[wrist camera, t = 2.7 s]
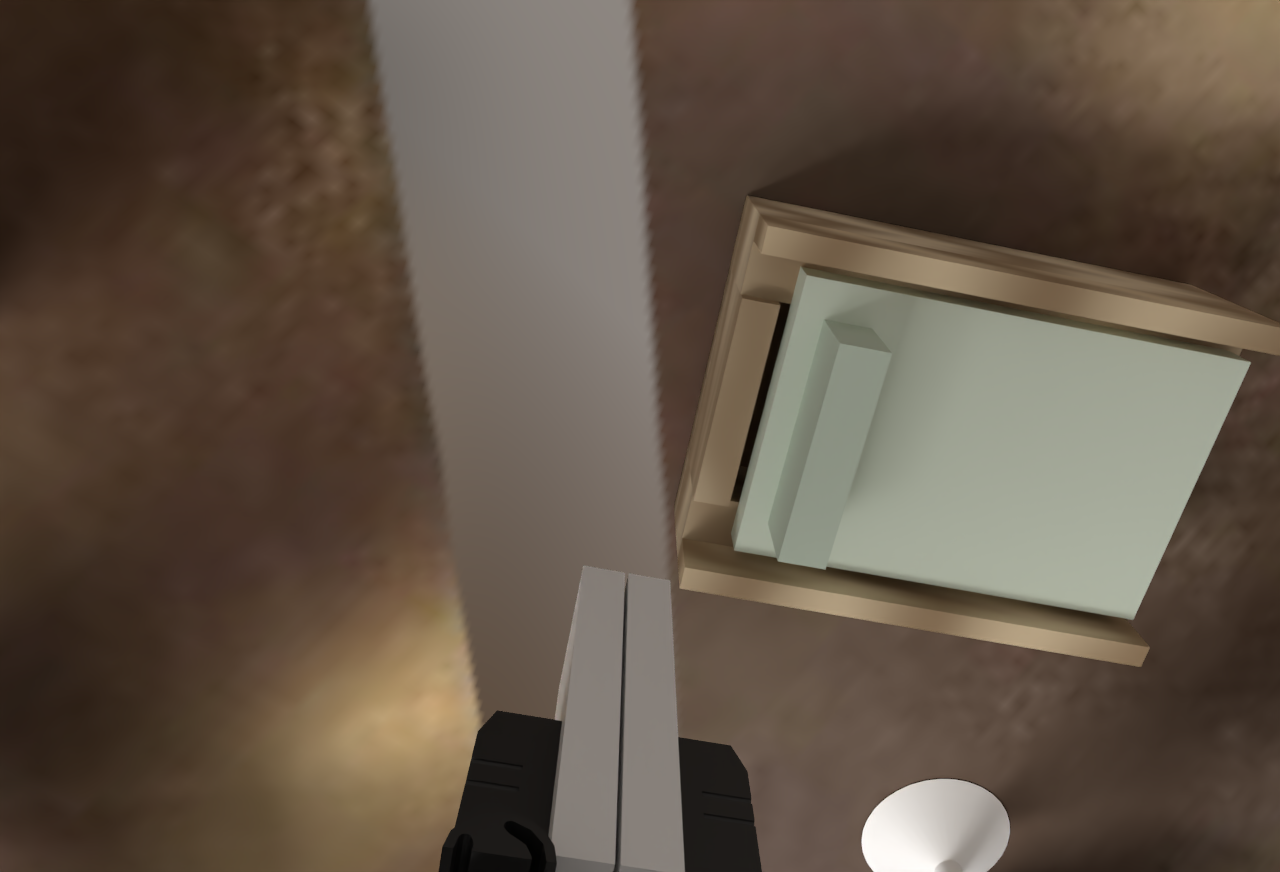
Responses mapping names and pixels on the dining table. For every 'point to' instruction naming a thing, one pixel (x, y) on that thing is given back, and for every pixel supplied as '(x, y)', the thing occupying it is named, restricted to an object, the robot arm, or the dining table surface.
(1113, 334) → the lid
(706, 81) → the dining table surface
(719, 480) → the box
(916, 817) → the champagne flute
